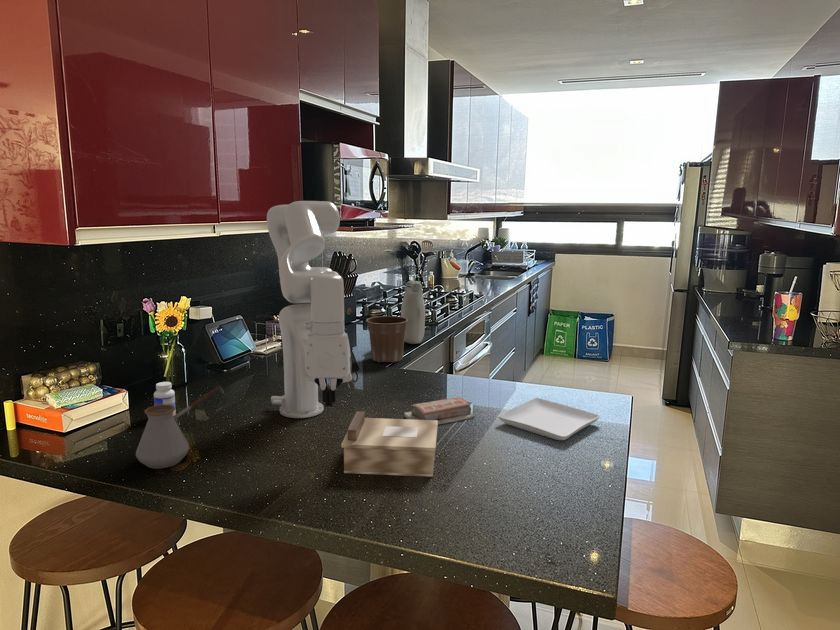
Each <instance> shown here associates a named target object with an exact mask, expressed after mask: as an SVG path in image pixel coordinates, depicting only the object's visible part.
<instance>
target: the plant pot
mask: <svg viewBox="0 0 840 630" xmlns="http://www.w3.org/2000/svg"><path fill="white" fill-rule="evenodd" d="M407 321H408V319H407V318H403V317H401V316H395V315H384V316H383V315H382V316H381V315H380V316H379V315H378V316H373V317H369V318H366V321H365V322H366V324H367V331H368V333H369V342H370V350H371V351H370V352H371V360H372V361H373V360H374V361H373V362H375V361H377V362H376V363H380V362H383V363H387V362H395V363H399V362H401V361H402V360H403V359H404V347H405V346H404V345H405V341H404V337H405V330H406V323H407Z"/></svg>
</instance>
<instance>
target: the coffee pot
mask: <svg viewBox="0 0 840 630" xmlns="http://www.w3.org/2000/svg"><path fill="white" fill-rule="evenodd" d="M220 389H221V390H220ZM218 391H219V392H220V393H221V394H224V393H225V392H224V388H222V387H221V386H216V387H214V389H211V390H209V392H207V393H205V394H203V395H201V396H200V397H199V398H197V399H196V400H195V401H194V402H192V403H191V404H189V405H188V406H186V407H185V408H184V409H182V410H181V411H179V412H177V413H176V415H174V416H173V411H174V410H176V406H175V407H174V406H172V405H156V406H154V405H153V406H149V407H147V408H146V409H145V410H144V414H145V415H146V416H147V418H148V419H147V422H146V425H145V427H144V429H143V432H142V435H141V437H140V441H139V443H138V445H137V448H136V451H135V457H136V459H137V460H138V462H139V463H141V464H142V465H145V466H146V467H148V468H150V469H165V468H169V467H173V466H176V465H177V464H179V463H180V462H181V461H182V460H183V459H184V458H185V457H186V456H187V455H188V452H189V450H190V444H189V442H188V440H187V438H186V437H185V434H184V433H183V431H182V430H181V428H180V426H179V424H178V423H177V421H176V420H177V419H178V418H180V417H181V416H183V415H184V414H186V413H187V412H188V411H189V410H191V409H193V408H195V407H196V406H198V405H199V404H201V403H203V402H204V401H206V400H207V399H208V398H209V397H210V396H212V395H215V393H216V392H218Z"/></svg>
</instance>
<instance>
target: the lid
mask: <svg viewBox="0 0 840 630" xmlns="http://www.w3.org/2000/svg"><path fill="white" fill-rule="evenodd" d="M365 412H366V411H360V410H359V411H356V412H355V414H354V417H352V420H351V422H350V424H349V426H348V428H347V432H346V434H345V436H344V438H343V439H342V441H341V444H340V447H341V449H344V448H363V449H389V450H415V451H435V452H436V448H437V437H438V436H437V435H438V427H439V425H438V420H411V419H407V418H405V419H404V418H383V417H381V418H379V417H378V418H377V417H375V418H373V417H366V416H365V415H366V413H365Z"/></svg>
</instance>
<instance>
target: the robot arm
mask: <svg viewBox="0 0 840 630" xmlns="http://www.w3.org/2000/svg"><path fill="white" fill-rule="evenodd" d="M340 220H341V219H340V213H339V210H338V207H337V206H336V205H335V203H333V202H331V201H325V200H321V201H320V200H298V201H293V202H291V203H289V204H278V205H274V206H272V207H270V208H269V209H268V211H267V214H266V225H267V230H268V234H269V238H270V240H271V242H272V244H273V247H274V249H275V252H276V254H277V261H278V271H279V274H278V275H279V282H280V289H281V293H282V296H283V297H284V299H286V301H288V302H289V303H290V304H291V305H288V306H285V307H283V308H282V309H280V311H279V313H278V322H279V323H278V324H279V328H280V333H281V334H280V335H281V340H282V353H283V355H282V356H283V358H282V359H283V382H284V383H283V384H284V395H282V396H278V395H272V396H271V398H270V402H271V403H272V405H274V406H275V405H276V406H277V405H279V406H280V407H279V413H280V415H282V416H283V417H286V418H290V419H291V418H292V419H307V418H311V417H312V418H313V417H315V416H318V415H320V414H322V413H323V411H324V407H325V408H328V407H330V408H332V407H333V406H334V404H335V403H337V400H338V399H337V398H338V397H337V388H338V387H339V386H340V385H342V384H344V383H348V382H351V381H352V380H353V375H352V357H351V356H352V354H351V347H350V346H351V345H350V339H349V336H348V333H347V332H346V331H345V296H344V295H345V288H344V286H345V285H344V278H343V276H341V275H340V274H339V273H338V272H337V271H334V270H332V269H331V268H330V267H326V266H325V267H324V266H310V263H309V262H310V261H311V260H314V259H316V258H318V257H319V256H320V255H321V254H322V253H323V252H324V249H325V247H326V242H325V238H324V235H330V234H334V233H336V232H337V231H338V229H339V227H340V224H341V223H340ZM329 379H331V382H330V383H331V384H330V385H329V383H328V380H329ZM319 387H320V390H322V393H321V394H322V402H323V403H324V405H323V404H322V403H321V402H319Z"/></svg>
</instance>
